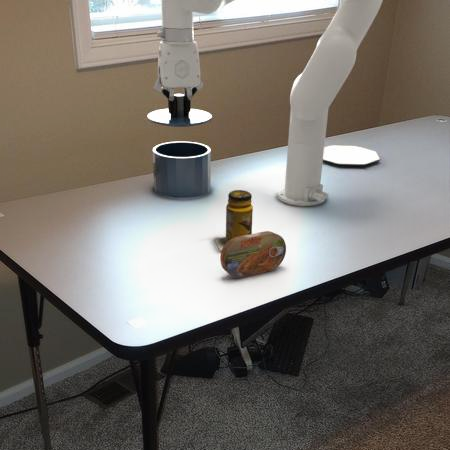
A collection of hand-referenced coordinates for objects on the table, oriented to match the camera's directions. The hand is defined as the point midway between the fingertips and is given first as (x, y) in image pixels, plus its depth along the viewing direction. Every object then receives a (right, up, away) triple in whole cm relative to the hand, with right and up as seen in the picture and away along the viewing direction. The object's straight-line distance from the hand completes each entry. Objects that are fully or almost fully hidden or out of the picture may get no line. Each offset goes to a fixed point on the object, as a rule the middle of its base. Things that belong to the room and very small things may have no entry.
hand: (179, 115), depth 170 cm
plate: (+51, +3, +39) cm, 64 cm away
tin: (+18, -47, -29) cm, 58 cm away
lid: (0, -1, +1) cm, 1 cm away
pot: (0, -16, +12) cm, 20 cm away
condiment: (+14, -38, -17) cm, 44 cm away
